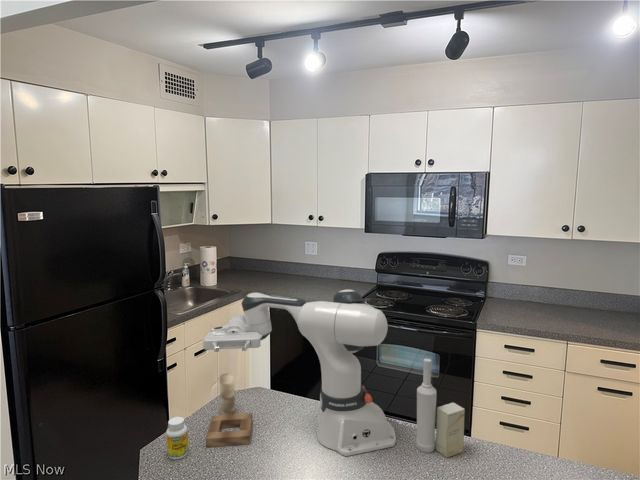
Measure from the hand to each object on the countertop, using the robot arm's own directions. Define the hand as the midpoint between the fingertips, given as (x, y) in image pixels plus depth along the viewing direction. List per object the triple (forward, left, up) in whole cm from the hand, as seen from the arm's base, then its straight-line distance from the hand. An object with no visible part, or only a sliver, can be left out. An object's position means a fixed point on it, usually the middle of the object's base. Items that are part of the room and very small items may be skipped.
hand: (230, 349), depth 144 cm
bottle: (-56, +37, -16) cm, 69 cm away
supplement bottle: (+11, +32, -16) cm, 38 cm away
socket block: (-2, +24, -16) cm, 29 cm away
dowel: (0, +12, -16) cm, 20 cm away
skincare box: (-62, +39, -16) cm, 75 cm away
